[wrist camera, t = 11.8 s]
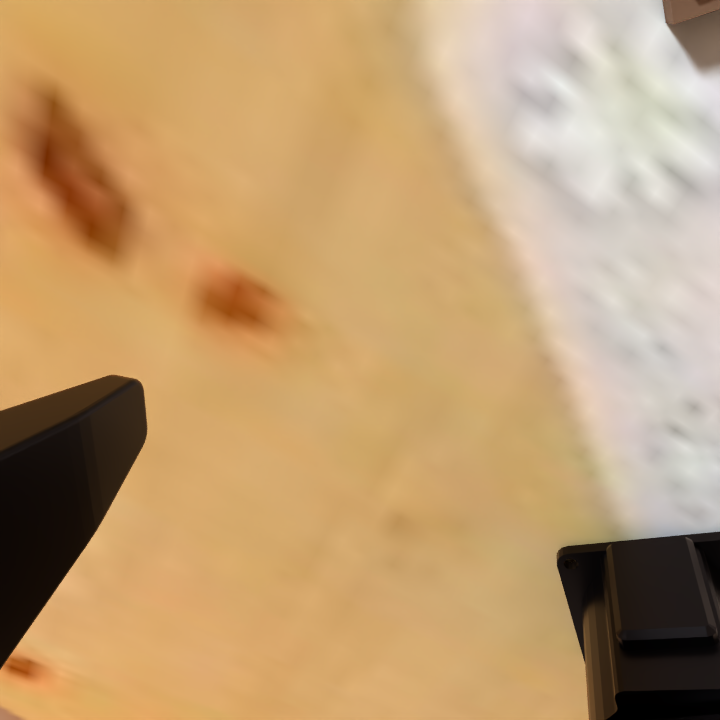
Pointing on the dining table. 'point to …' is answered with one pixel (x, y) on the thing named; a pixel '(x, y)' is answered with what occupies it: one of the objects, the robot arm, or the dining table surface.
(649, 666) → the robot arm
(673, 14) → the board
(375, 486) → the dining table surface
